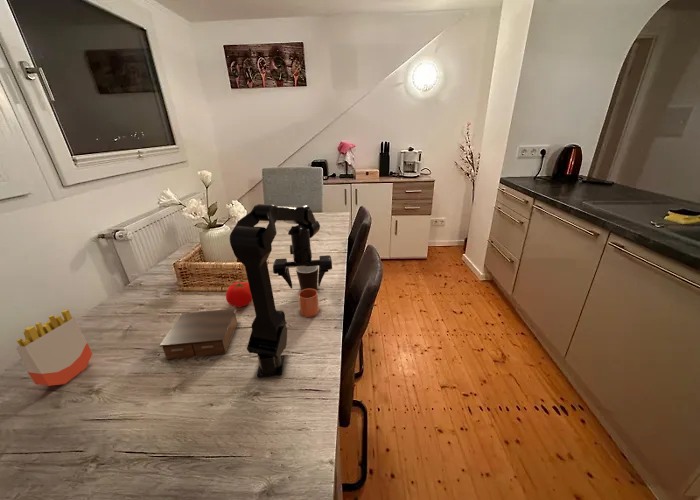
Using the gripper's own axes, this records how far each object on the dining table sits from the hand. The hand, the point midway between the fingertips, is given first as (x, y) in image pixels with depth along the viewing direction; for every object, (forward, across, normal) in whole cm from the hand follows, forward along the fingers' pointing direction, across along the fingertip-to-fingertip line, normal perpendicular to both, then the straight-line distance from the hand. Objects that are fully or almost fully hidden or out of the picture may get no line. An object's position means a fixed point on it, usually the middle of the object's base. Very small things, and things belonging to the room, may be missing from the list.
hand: (305, 286), depth 95 cm
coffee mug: (+10, -1, -16) cm, 19 cm away
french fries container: (+10, +63, +19) cm, 67 cm away
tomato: (+10, +24, -9) cm, 28 cm away
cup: (+10, -1, 0) cm, 10 cm away
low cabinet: (+10, +31, +10) cm, 34 cm away
